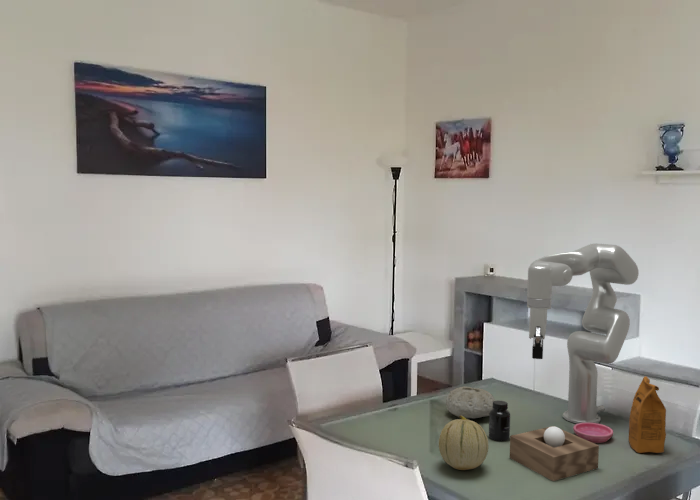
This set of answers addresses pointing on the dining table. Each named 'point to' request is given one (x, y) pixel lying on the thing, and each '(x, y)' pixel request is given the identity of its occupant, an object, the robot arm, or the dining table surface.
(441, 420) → the dining table surface
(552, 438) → the lightbulb
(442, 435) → the cantaloupe
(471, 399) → the grey rounded lump
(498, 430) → the supplement bottle
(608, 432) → the saucer
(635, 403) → the coffee package
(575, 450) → the socket block
